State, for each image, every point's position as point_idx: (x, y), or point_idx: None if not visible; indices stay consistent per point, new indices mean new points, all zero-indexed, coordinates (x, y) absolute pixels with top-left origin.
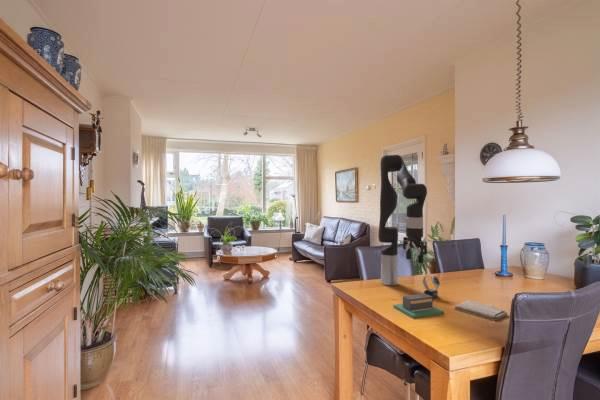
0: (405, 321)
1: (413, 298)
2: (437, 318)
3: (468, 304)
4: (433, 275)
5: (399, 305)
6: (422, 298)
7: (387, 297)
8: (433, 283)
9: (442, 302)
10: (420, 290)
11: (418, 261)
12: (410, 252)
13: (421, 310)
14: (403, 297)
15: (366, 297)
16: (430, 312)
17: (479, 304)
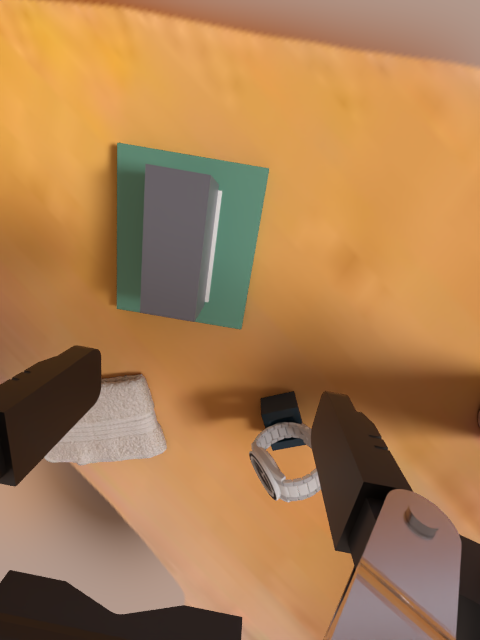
0: (105, 81)
1: (152, 199)
2: (91, 244)
3: (120, 420)
4: (288, 500)
5: (247, 191)
6: (142, 251)
7: (387, 254)
8: (261, 448)
9: (215, 396)
10: None
11: (72, 353)
12: (334, 521)
13: None
14: (204, 174)
15: (463, 149)
16: (121, 248)
17: (104, 444)
